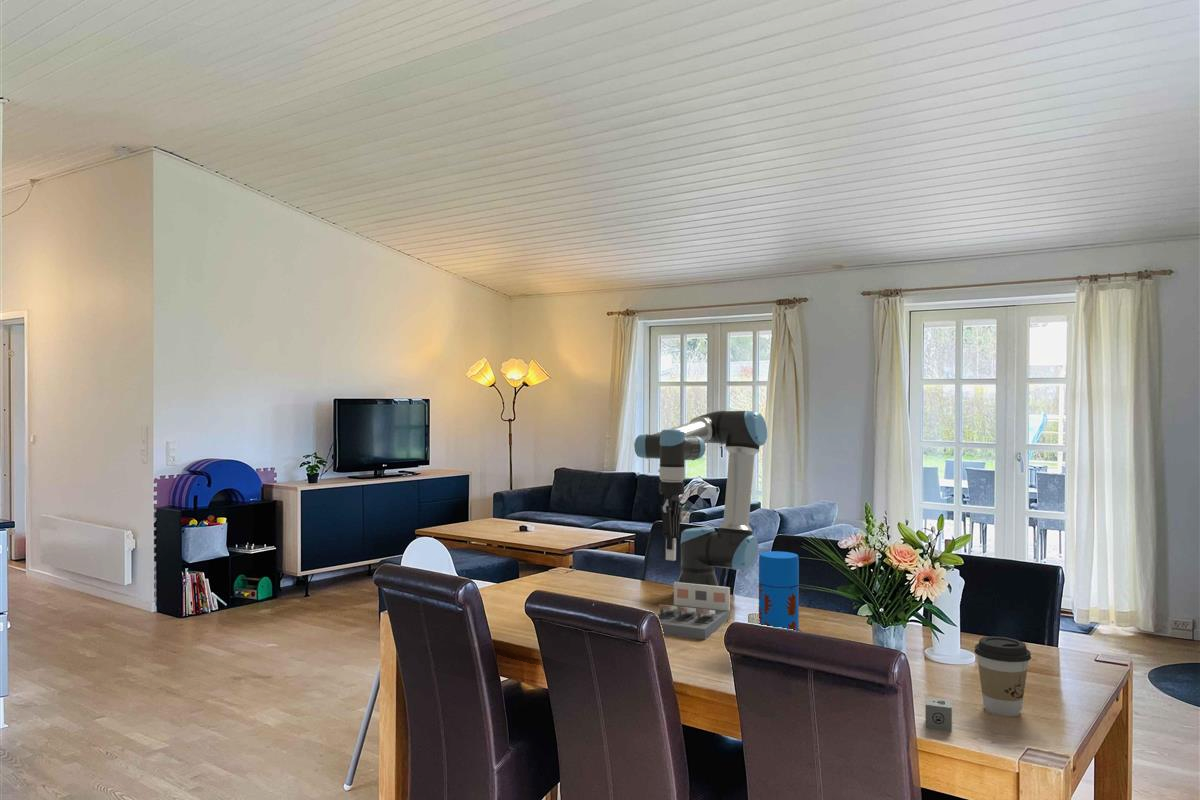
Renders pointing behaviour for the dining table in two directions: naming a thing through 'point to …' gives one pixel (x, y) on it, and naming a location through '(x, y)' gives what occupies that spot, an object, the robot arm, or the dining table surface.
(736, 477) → the robot arm
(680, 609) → the switch
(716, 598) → the switch unit
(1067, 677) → the dining table surface
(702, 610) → the switch
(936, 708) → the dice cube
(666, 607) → the switch
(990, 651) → the coffee cup
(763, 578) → the thermos
